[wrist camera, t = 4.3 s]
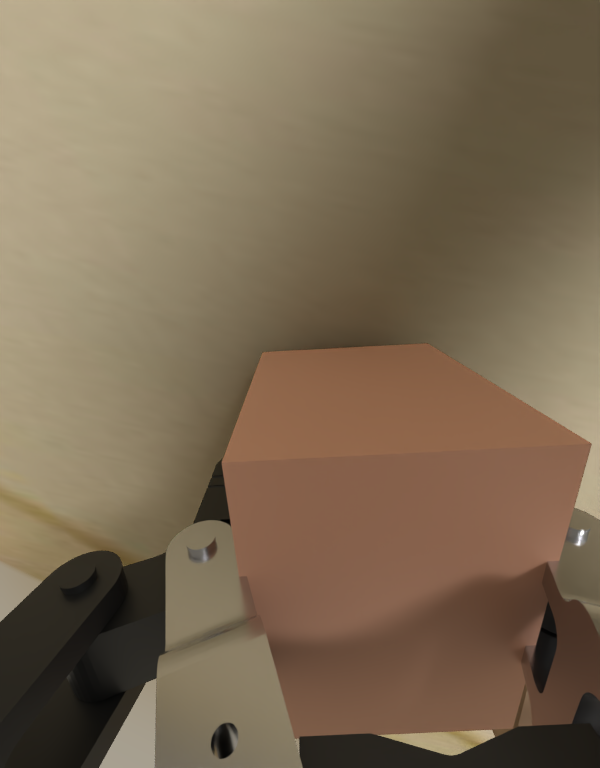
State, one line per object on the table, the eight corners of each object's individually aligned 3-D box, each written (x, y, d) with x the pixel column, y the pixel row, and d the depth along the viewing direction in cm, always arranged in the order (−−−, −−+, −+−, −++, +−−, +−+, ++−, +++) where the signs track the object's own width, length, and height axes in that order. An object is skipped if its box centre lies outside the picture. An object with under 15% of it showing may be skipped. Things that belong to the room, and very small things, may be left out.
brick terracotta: (262, 352, 10) (221, 462, 5) (427, 343, 10) (591, 444, 5) (278, 522, 12) (263, 740, 7) (413, 516, 12) (512, 728, 7)
